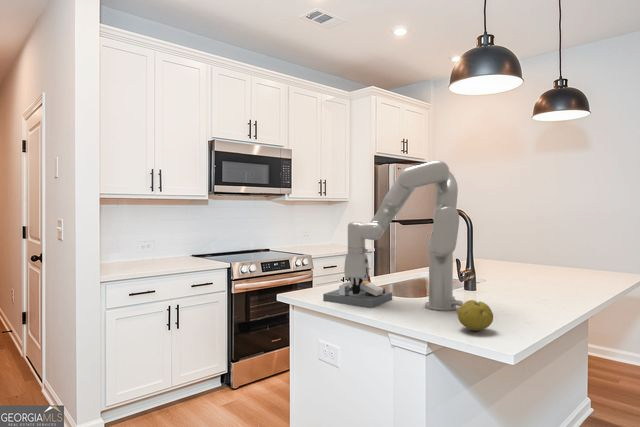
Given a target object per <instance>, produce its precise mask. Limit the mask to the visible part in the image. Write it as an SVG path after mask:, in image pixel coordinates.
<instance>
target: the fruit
mask: <svg viewBox="0 0 640 427" xmlns="http://www.w3.org/2000/svg"><path fill="white" fill-rule="evenodd" d="M456 312H457V319H458V321H459V323H460V324H461V325H462V326H463V327H465V328H466V329H468V330H470V331H471V332H481V331H484V330H485V329H487V328H489V327H490V325H492V323H493V321H494V313H493V311H492V309H491V307H490V306H489V305H488V304H487V303H485V302H483V301H476V300H473V299H471V300H468V301H466V302H463V304H462V305H461V306H459V307H458V308H457V311H456Z"/></svg>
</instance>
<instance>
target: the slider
mask: <svg viewBox="0 0 640 427" xmlns="http://www.w3.org/2000/svg"><path fill="white" fill-rule="evenodd" d="M338 287H339V288H338V289H339V295H343V296H345V295H348V294H349V285H345V284H344V285H342V284H341V285H339V286H338Z"/></svg>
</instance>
